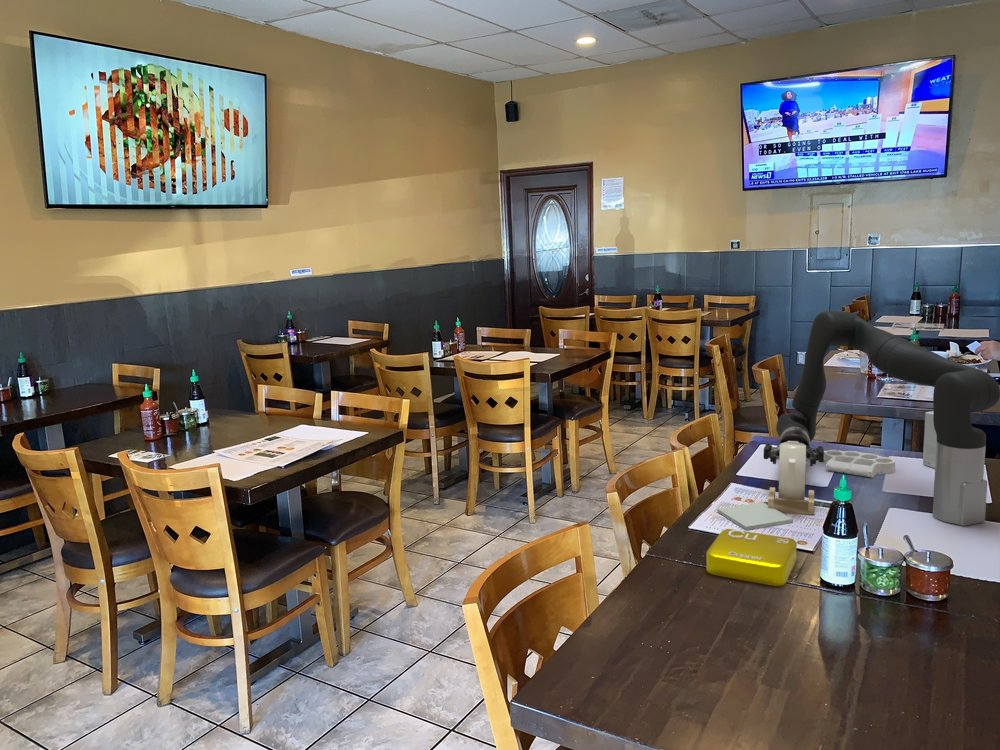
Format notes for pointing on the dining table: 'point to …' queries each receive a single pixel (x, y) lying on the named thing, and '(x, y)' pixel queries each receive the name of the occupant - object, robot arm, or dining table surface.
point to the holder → (791, 503)
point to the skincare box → (929, 441)
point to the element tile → (752, 557)
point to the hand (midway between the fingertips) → (792, 461)
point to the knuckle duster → (858, 463)
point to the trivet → (754, 515)
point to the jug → (792, 470)
